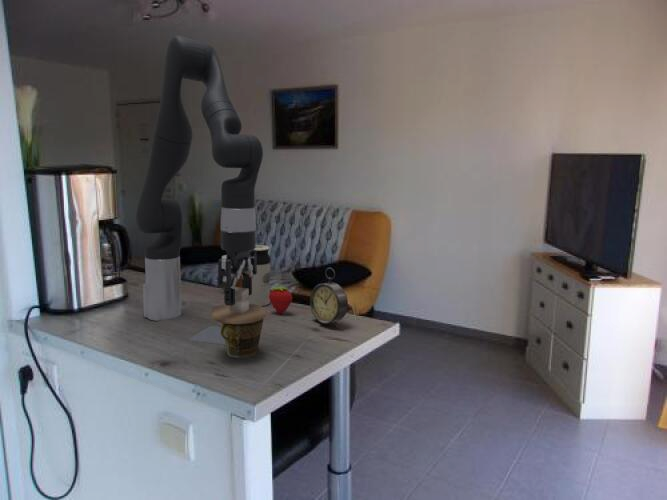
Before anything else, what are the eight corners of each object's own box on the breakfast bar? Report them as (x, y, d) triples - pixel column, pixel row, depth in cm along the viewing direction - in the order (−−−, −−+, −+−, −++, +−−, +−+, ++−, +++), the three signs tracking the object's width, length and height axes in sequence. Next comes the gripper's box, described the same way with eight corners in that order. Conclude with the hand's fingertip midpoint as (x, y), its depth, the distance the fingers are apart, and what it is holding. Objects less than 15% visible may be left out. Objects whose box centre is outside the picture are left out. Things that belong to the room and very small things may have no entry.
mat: (187, 342, 124) (187, 339, 124) (210, 328, 134) (210, 326, 134) (228, 347, 121) (228, 345, 121) (248, 333, 131) (248, 330, 131)
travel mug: (238, 303, 157) (238, 246, 154) (258, 298, 163) (258, 243, 160) (255, 308, 152) (255, 250, 149) (275, 303, 158) (275, 247, 155)
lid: (201, 320, 110) (200, 293, 108) (227, 305, 121) (227, 281, 120) (252, 326, 106) (252, 299, 105) (274, 310, 118) (274, 285, 117)
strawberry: (282, 319, 143) (282, 285, 141) (264, 314, 148) (264, 280, 146) (296, 315, 147) (297, 282, 146) (278, 309, 152) (279, 277, 150)
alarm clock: (308, 322, 141) (309, 265, 138) (321, 318, 145) (323, 263, 142) (337, 332, 134) (338, 272, 131) (350, 327, 138) (352, 269, 135)
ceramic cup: (235, 344, 123) (235, 304, 122) (271, 351, 120) (271, 310, 118) (202, 363, 112) (202, 319, 110) (241, 371, 108) (241, 326, 106)
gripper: (237, 223, 118) (237, 290, 121) (206, 231, 104) (207, 306, 107) (267, 225, 116) (266, 293, 119) (239, 233, 102) (239, 310, 105)
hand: (238, 299), depth 113 cm, fingers open, 8 cm apart
